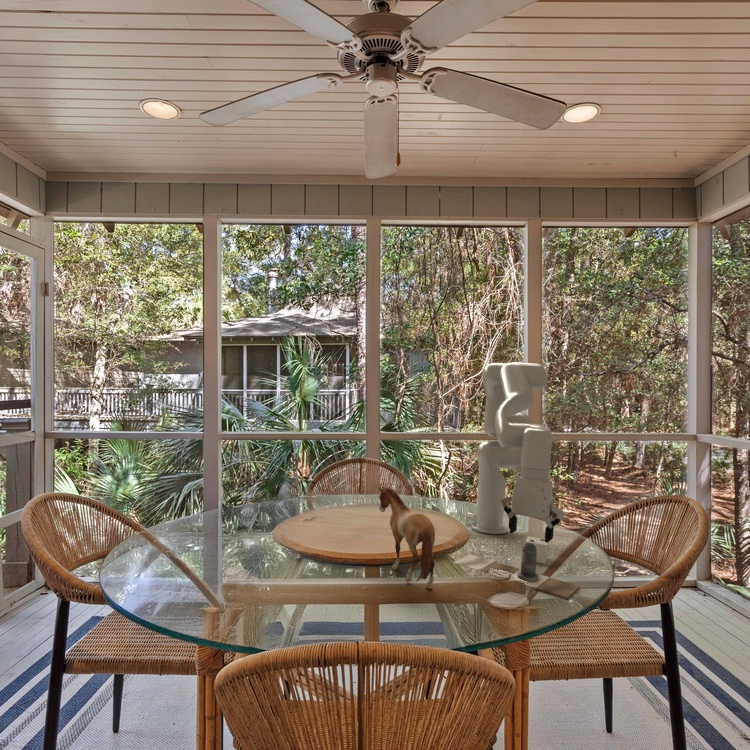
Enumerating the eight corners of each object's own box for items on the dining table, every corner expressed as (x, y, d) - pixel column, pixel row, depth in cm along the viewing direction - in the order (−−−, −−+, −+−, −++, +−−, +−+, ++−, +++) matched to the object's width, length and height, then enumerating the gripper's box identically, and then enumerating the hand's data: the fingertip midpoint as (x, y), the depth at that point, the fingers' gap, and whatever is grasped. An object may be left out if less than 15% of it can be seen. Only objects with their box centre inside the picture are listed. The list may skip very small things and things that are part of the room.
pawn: (514, 577, 139) (516, 542, 139) (521, 572, 144) (524, 538, 144) (533, 583, 136) (536, 547, 136) (541, 578, 140) (543, 543, 140)
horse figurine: (372, 556, 151) (377, 485, 151) (397, 554, 153) (402, 484, 153) (418, 602, 122) (423, 515, 121) (447, 599, 124) (453, 513, 124)
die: (524, 561, 154) (525, 541, 154) (526, 555, 160) (527, 535, 160) (545, 565, 152) (547, 544, 152) (547, 559, 157) (548, 539, 157)
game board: (452, 564, 148) (453, 562, 148) (469, 556, 156) (469, 554, 156) (567, 600, 128) (567, 597, 128) (579, 588, 136) (579, 585, 136)
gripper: (498, 469, 142) (494, 531, 143) (562, 482, 132) (557, 548, 132) (509, 466, 148) (505, 525, 149) (571, 477, 138) (566, 541, 138)
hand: (530, 536), depth 140 cm, fingers open, 9 cm apart
